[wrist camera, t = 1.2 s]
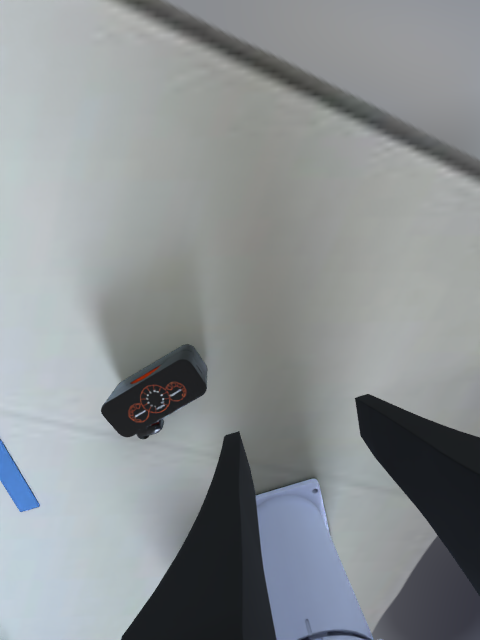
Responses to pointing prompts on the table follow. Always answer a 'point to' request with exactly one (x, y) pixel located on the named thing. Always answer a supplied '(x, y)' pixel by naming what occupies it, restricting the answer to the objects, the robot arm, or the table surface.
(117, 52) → the table surface
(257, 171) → the table surface
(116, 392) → the black rounded block
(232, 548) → the robot arm
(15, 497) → the tape line
